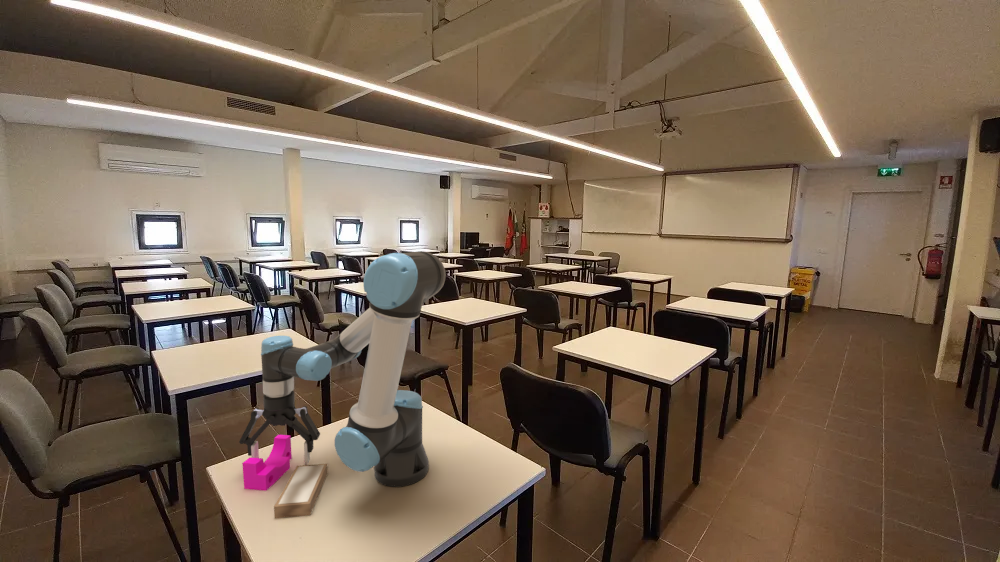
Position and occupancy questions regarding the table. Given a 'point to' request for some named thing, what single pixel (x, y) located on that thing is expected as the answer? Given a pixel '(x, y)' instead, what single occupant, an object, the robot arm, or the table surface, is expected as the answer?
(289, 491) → the base slab
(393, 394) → the robot arm
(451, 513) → the table surface
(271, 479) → the magenta bracket
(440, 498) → the table surface
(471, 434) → the table surface
